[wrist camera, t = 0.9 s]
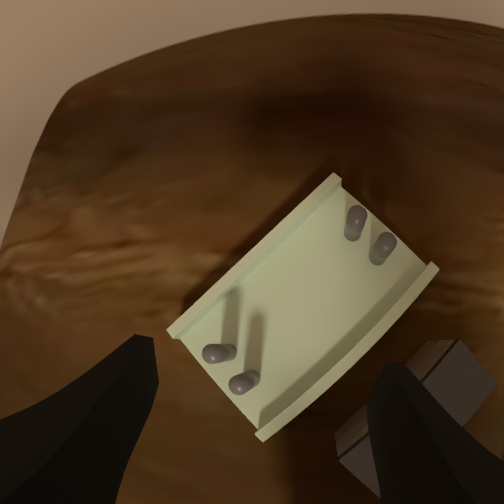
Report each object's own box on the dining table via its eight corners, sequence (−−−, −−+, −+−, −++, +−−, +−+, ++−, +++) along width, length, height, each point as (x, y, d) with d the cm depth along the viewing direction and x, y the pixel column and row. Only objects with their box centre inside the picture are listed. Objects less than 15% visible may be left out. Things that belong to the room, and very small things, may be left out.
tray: (429, 276, 21) (452, 260, 16) (268, 433, 20) (255, 453, 16) (332, 186, 24) (334, 154, 20) (179, 331, 23) (150, 327, 19)
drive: (458, 375, 18) (497, 383, 13) (368, 464, 18) (382, 500, 12) (426, 340, 20) (459, 338, 14) (334, 430, 19) (338, 460, 14)
